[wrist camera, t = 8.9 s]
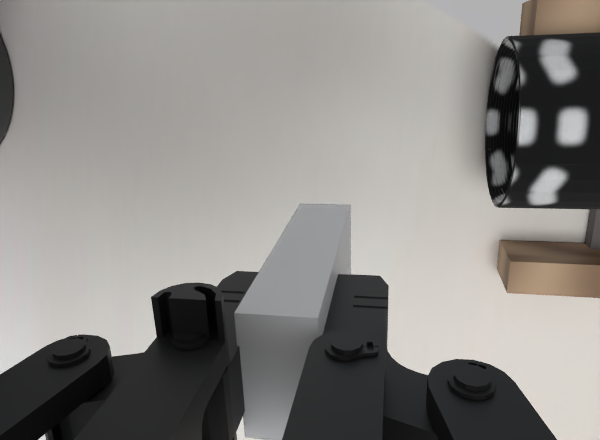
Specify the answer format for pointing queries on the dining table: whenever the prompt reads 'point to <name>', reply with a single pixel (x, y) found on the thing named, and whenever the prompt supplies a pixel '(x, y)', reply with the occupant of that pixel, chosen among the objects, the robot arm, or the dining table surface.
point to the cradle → (596, 250)
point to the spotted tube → (545, 122)
